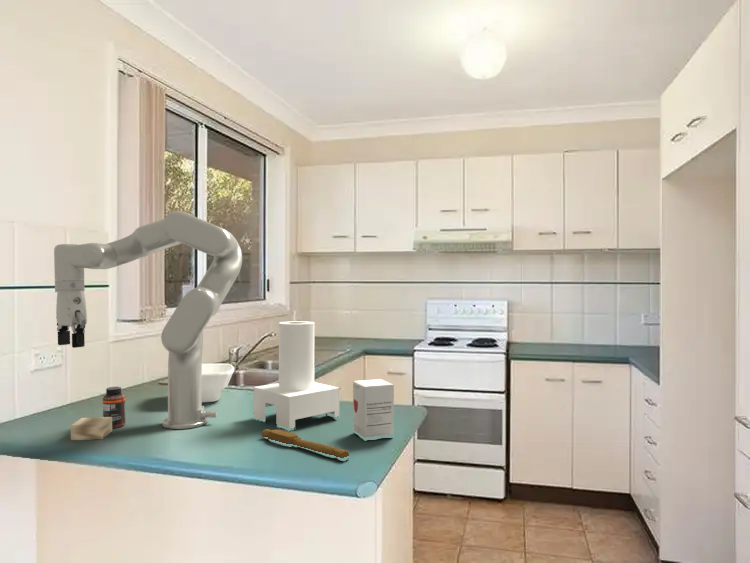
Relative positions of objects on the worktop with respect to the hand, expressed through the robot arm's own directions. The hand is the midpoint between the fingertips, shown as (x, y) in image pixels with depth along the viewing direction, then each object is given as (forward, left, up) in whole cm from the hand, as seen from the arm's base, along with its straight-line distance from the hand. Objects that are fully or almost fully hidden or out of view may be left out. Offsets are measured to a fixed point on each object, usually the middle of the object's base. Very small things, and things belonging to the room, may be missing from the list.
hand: (71, 345), depth 160 cm
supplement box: (-86, +19, -24) cm, 91 cm away
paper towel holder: (-65, -1, -24) cm, 69 cm away
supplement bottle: (-12, 0, -24) cm, 27 cm away
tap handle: (-66, +28, -24) cm, 76 cm away
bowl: (-32, -30, -24) cm, 50 cm away
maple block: (-9, +9, -24) cm, 27 cm away
